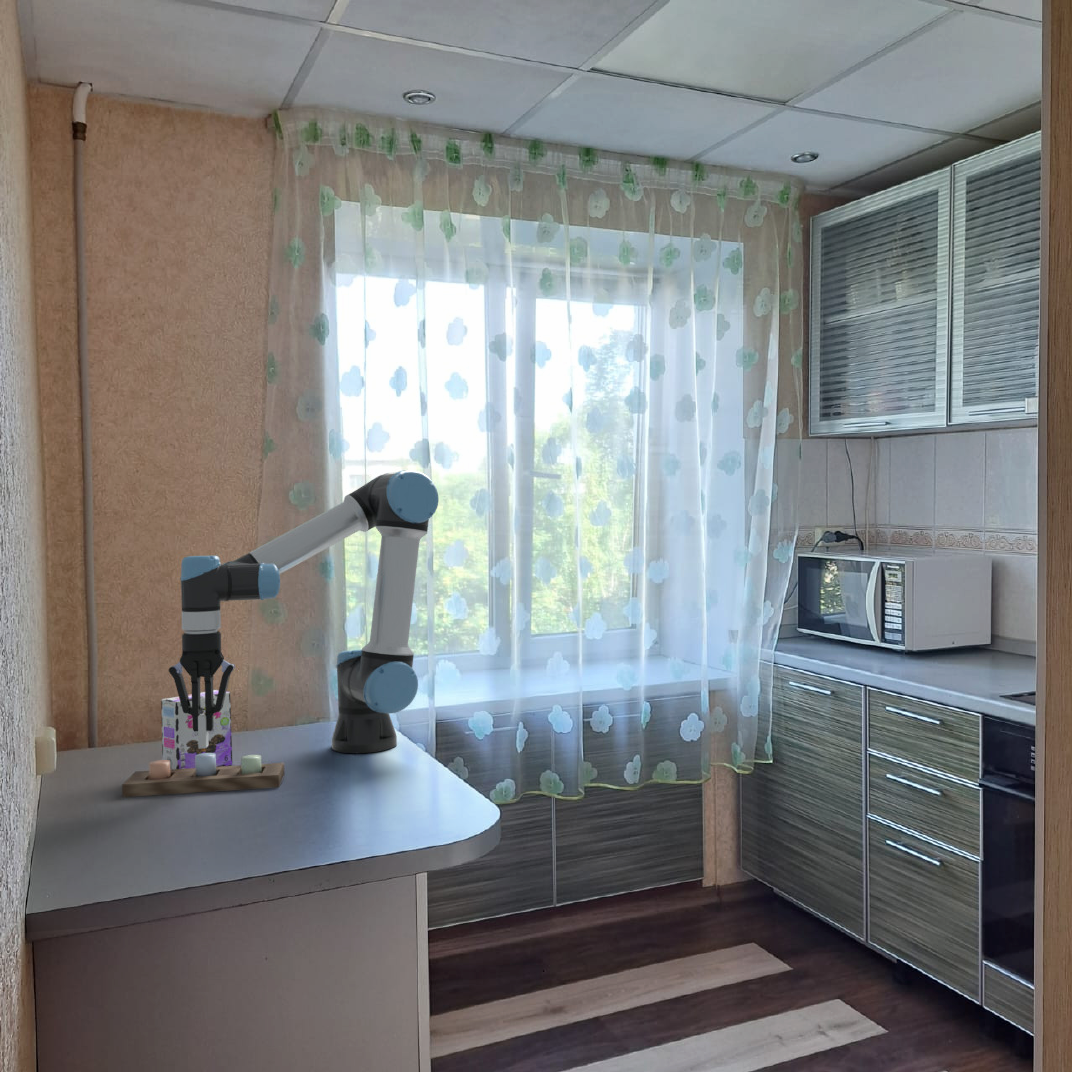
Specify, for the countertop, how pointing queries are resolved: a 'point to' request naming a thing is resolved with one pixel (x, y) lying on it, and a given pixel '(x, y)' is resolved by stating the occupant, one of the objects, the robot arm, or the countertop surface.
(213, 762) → the button blue
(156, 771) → the button terracotta
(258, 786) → the panel
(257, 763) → the button sage
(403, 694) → the robot arm
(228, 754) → the candy box
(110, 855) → the countertop surface
